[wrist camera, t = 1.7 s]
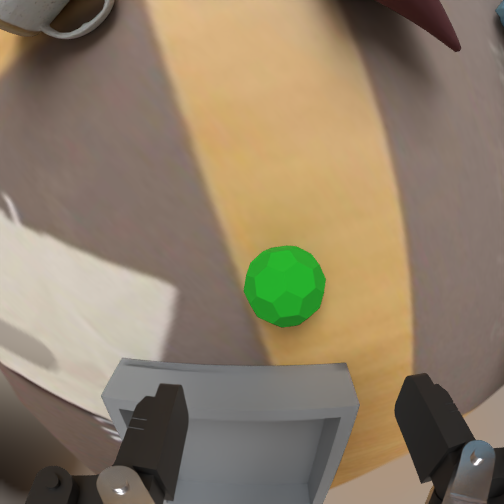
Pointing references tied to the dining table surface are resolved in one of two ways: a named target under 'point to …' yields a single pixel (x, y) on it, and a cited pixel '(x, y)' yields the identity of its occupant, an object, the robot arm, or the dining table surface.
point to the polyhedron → (284, 285)
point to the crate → (248, 427)
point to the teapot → (501, 12)
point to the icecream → (427, 18)
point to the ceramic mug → (42, 17)
